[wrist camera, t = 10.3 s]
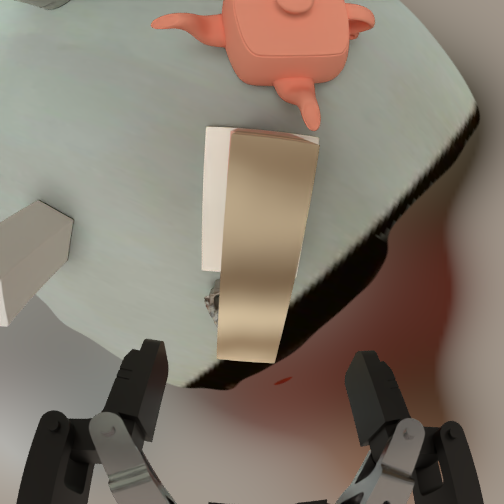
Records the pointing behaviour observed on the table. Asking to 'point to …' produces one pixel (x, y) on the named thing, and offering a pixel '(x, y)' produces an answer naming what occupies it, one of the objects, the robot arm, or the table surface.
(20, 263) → the milk carton
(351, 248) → the table surface
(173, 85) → the table surface
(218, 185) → the cream and salmon bracket
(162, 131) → the table surface
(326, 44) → the teapot
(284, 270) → the oak beam
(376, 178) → the table surface
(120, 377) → the robot arm
